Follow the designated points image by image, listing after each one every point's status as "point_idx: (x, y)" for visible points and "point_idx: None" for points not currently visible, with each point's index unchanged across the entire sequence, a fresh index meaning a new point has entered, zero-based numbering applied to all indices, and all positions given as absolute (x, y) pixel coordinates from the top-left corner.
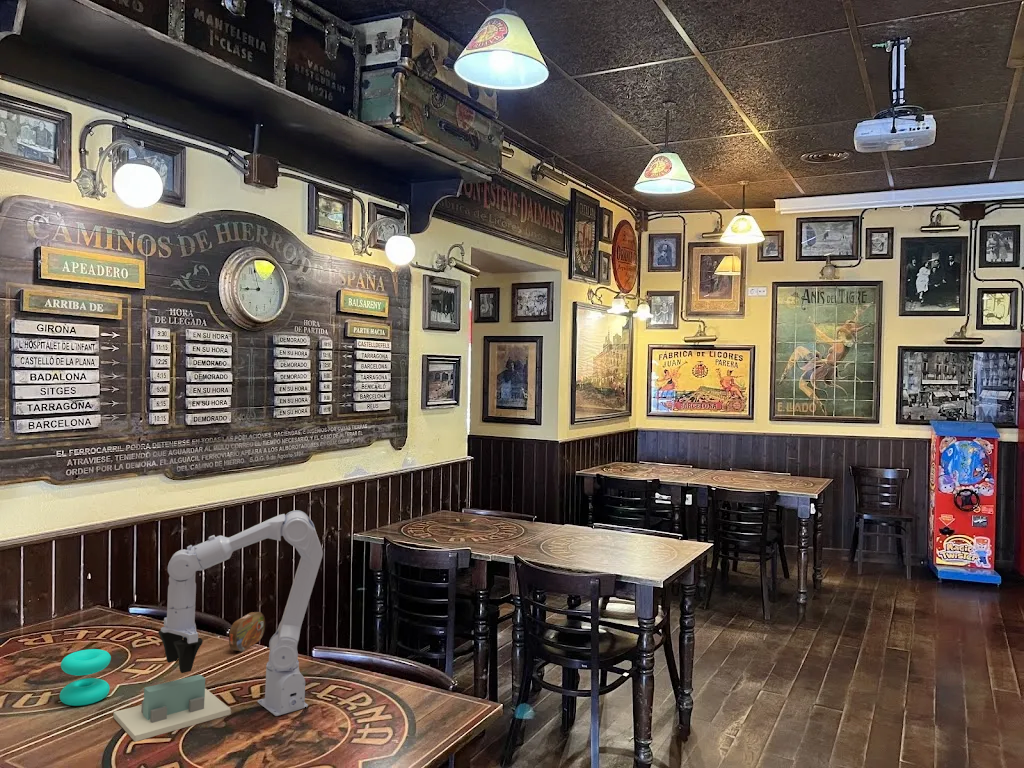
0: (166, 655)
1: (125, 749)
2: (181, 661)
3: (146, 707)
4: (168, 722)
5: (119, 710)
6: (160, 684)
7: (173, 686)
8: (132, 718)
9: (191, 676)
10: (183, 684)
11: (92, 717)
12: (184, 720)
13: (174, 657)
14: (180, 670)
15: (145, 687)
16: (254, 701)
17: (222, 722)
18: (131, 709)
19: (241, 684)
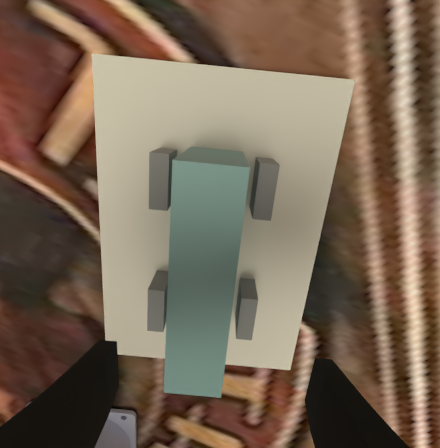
0: (343, 391)
1: (60, 4)
2: (32, 404)
3: (205, 152)
4: (127, 190)
5: (349, 103)
6: (231, 243)
7: (168, 275)
8: (244, 111)
9: (222, 368)
10: (167, 314)
11: (412, 18)
12: (110, 232)
13: (316, 408)
14: (99, 348)
15: (246, 173)
16: (149, 408)
17: (77, 307)
18: (321, 141)
19: (270, 433)
